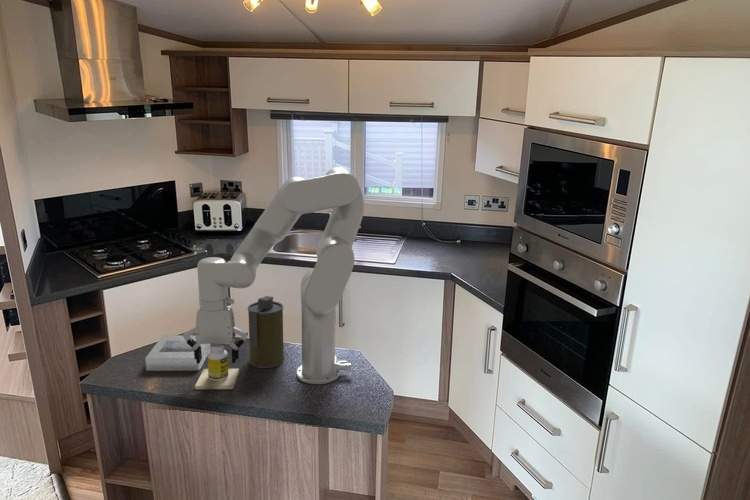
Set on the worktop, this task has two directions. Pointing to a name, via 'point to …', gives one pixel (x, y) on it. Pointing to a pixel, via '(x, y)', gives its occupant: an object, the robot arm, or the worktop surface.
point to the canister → (266, 333)
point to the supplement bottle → (217, 362)
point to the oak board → (223, 384)
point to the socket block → (174, 355)
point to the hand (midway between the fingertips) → (216, 361)
